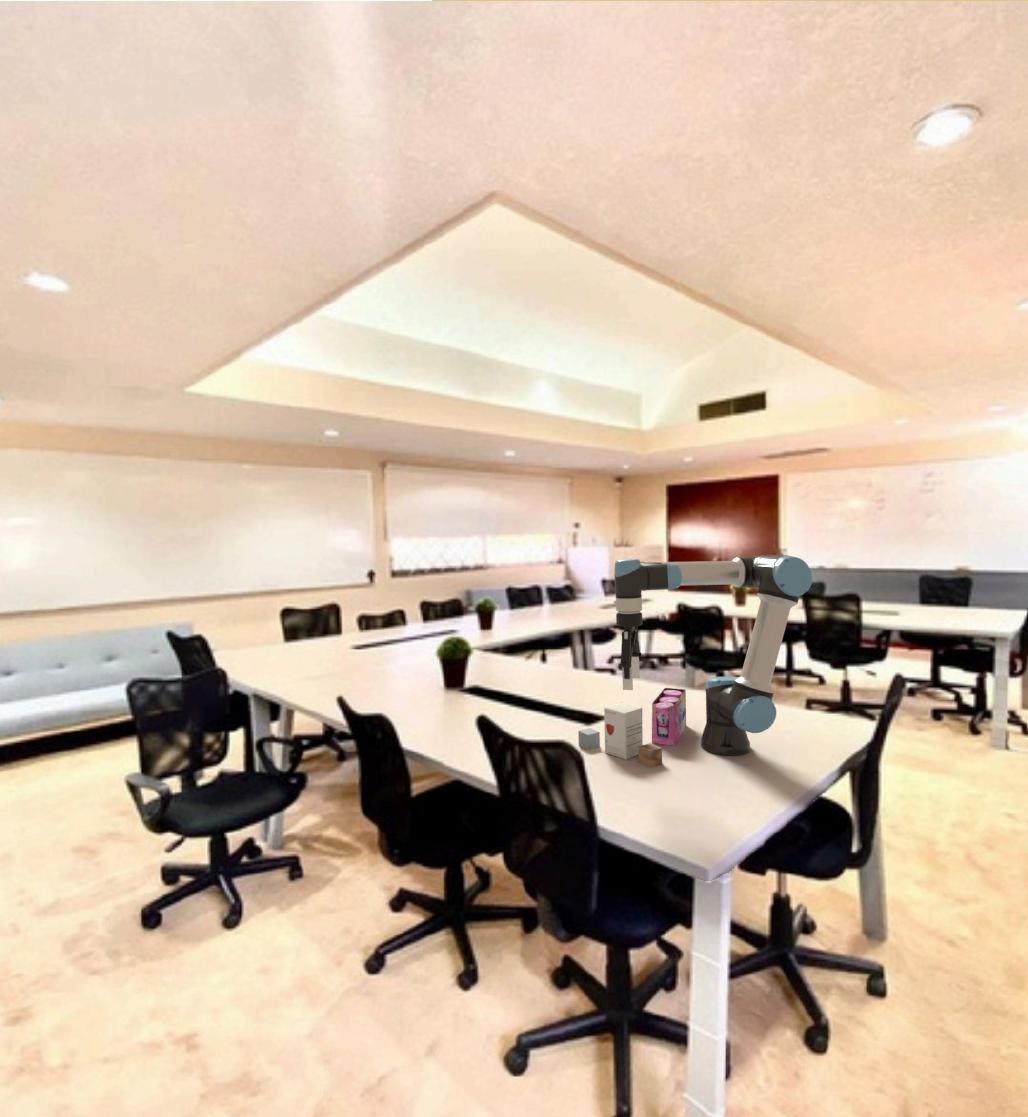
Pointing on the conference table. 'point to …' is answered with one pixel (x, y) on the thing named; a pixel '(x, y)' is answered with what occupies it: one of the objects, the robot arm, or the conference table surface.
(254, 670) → the conference table surface
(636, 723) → the supplement box
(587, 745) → the slate block
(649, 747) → the walnut block
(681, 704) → the gum box
